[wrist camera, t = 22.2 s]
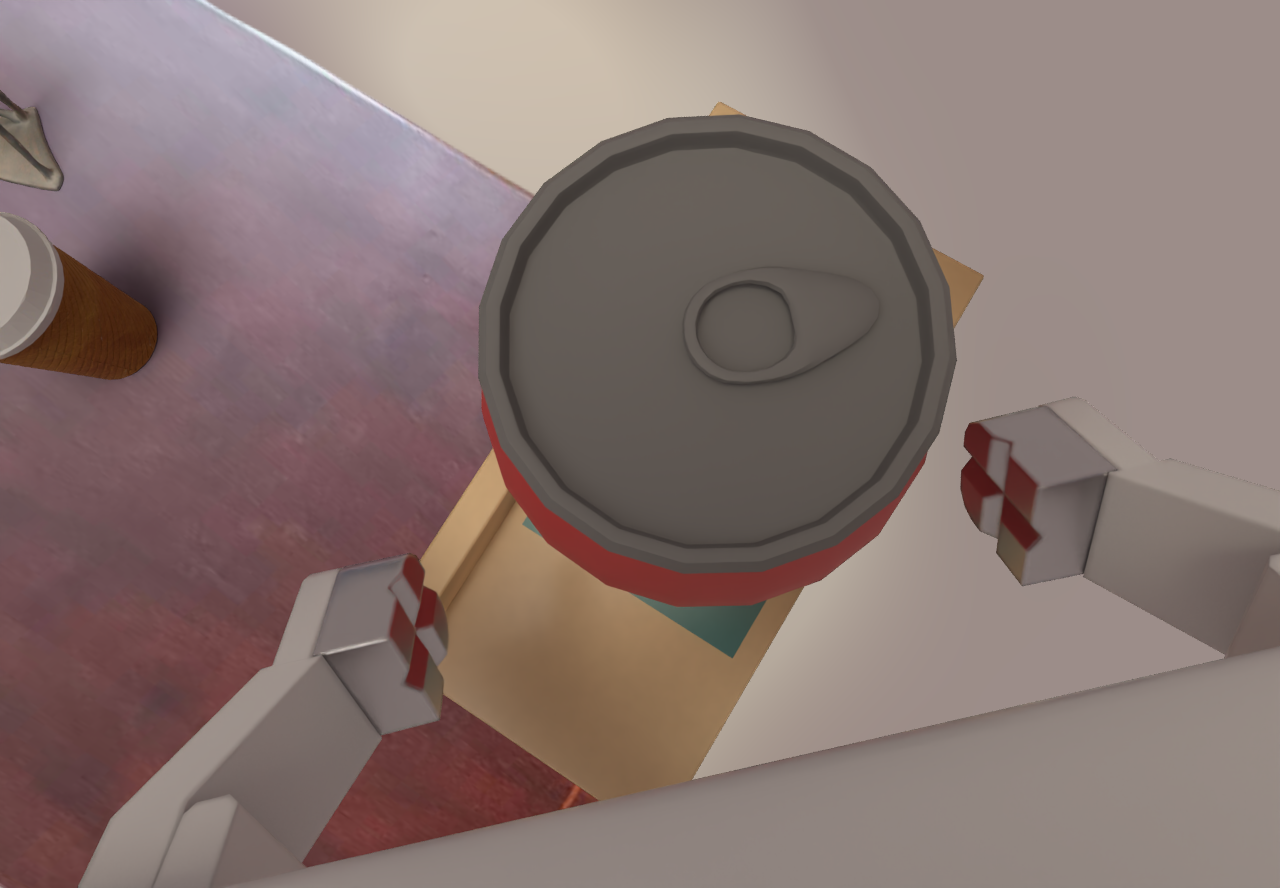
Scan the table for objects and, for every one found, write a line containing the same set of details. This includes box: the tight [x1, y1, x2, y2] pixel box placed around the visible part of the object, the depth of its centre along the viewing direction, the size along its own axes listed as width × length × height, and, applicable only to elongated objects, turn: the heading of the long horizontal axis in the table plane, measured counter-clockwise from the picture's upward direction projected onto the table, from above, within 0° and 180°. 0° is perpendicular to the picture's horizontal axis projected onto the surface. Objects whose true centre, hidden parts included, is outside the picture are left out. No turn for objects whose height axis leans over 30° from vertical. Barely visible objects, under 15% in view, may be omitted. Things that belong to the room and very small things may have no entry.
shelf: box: [420, 102, 984, 801], centre depth 34 cm, size 18×9×32 cm, turn 148°
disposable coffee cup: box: [0, 212, 157, 380], centre depth 48 cm, size 10×10×12 cm
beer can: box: [478, 114, 957, 607], centre depth 14 cm, size 7×7×12 cm
